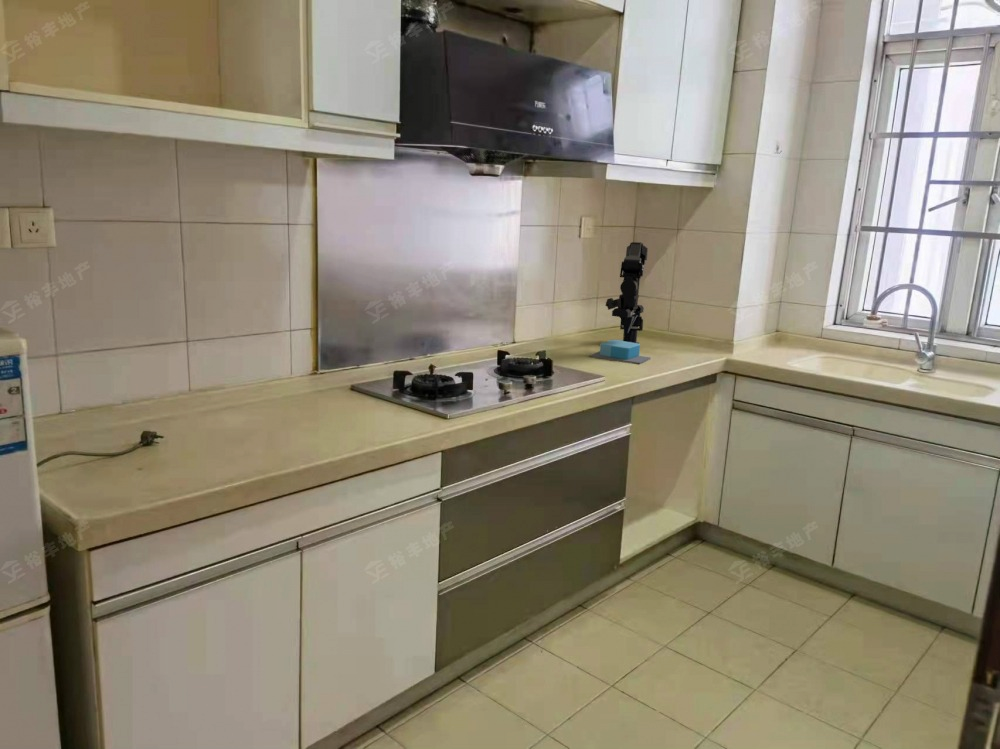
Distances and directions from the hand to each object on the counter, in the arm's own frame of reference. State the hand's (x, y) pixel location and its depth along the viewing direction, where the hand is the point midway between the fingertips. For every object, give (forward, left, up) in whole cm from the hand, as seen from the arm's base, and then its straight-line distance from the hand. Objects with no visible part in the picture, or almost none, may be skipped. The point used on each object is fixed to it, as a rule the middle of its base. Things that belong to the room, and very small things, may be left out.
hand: (626, 332), depth 287 cm
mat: (+4, 0, -9) cm, 10 cm away
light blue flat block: (-3, 0, -6) cm, 7 cm away
